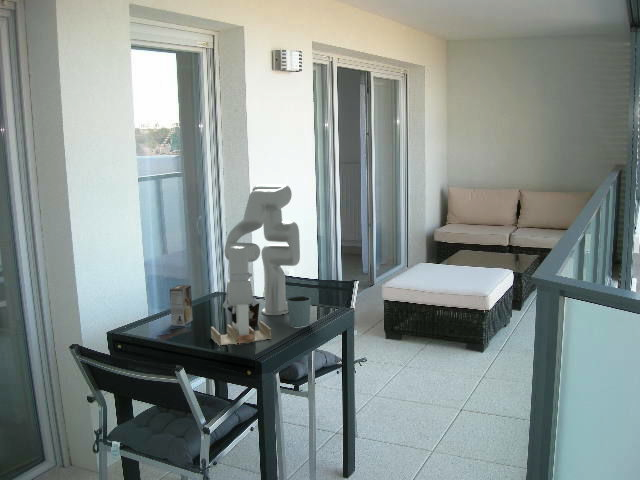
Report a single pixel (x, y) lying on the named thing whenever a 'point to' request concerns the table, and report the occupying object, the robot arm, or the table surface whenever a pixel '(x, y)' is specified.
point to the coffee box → (181, 305)
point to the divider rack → (235, 338)
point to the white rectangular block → (241, 320)
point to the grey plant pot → (299, 310)
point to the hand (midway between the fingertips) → (240, 321)
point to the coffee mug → (254, 315)
